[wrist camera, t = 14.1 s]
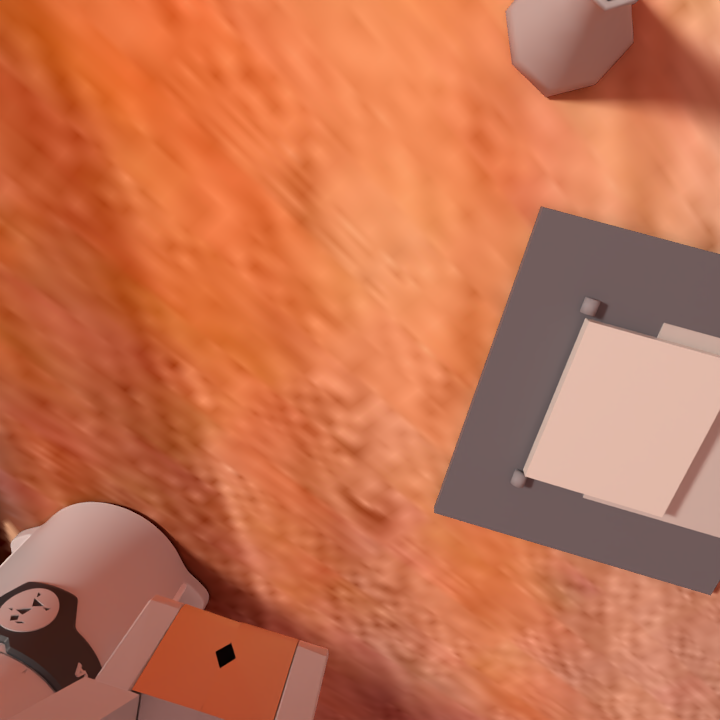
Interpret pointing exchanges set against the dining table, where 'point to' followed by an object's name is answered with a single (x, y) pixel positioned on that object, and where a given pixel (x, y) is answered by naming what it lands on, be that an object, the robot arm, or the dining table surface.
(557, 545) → the board
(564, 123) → the dining table surface
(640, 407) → the tile
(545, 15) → the flask
